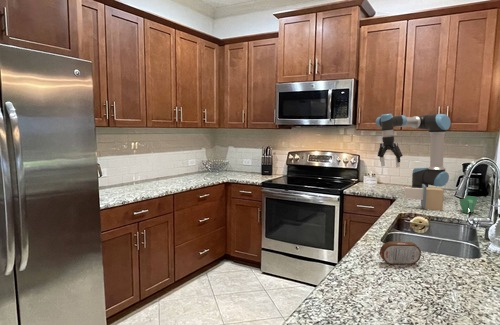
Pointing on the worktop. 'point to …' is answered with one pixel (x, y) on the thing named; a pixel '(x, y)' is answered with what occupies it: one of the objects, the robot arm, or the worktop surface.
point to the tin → (400, 253)
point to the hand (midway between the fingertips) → (390, 166)
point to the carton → (434, 198)
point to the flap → (416, 194)
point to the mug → (468, 203)
